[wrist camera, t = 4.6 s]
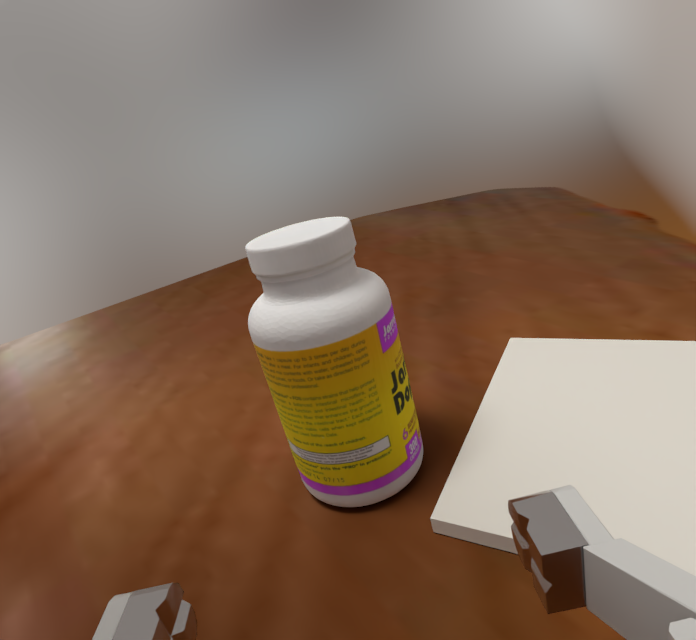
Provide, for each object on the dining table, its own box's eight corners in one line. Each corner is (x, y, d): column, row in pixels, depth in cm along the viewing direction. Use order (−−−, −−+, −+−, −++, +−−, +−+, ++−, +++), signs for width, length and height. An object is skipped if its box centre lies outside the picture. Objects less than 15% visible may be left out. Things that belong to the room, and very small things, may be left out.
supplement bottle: (437, 499, 21) (378, 228, 16) (299, 526, 22) (201, 271, 17) (415, 415, 27) (367, 201, 22) (308, 438, 28) (239, 234, 23)
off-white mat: (831, 636, 13) (837, 618, 13) (433, 532, 19) (430, 518, 19) (737, 354, 25) (739, 342, 25) (511, 348, 32) (510, 337, 31)
